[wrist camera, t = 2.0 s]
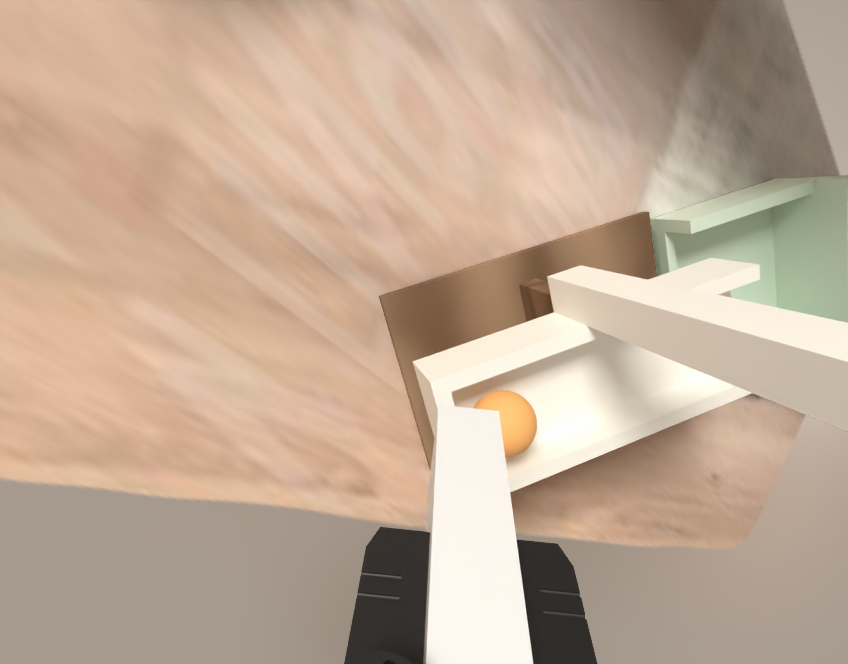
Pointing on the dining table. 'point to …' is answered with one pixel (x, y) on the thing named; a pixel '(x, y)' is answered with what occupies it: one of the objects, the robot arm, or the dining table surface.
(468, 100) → the dining table surface
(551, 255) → the stand
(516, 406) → the ball
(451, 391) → the seesaw
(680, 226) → the tray
